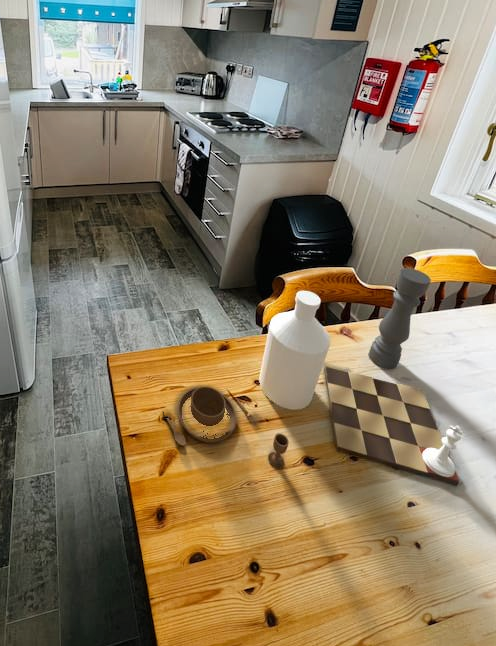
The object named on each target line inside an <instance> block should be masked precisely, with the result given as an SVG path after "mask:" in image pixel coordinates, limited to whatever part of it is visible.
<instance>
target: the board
mask: <svg viewBox="0 0 496 646" xmlns="http://www.w3.org/2000/svg"><path fill="white" fill-rule="evenodd" d="M323 372H324V380H325V385H326V390H327V391H326V392H327V399H328V405H329V411H330V418H331V424H332V430H333V437H334V444H335V451H336V452H339V453H342V454H346V455H350V456H353V457H357V458H361V459H363V460H367V461H370V462H374V463H377V464H380V465H384V466H386V467H387V466H388V467H391V468H394V469H397V470H400V471H403V472H408V473H411V474H414V475H417V476H420V477H425V478H428V479H432V480H434V481H437V482H441V483H444V484H448V485H451V486H455V487H458V486H459V485H460V480H459V479H460V478H459V477H458V475H457V472H456V471H455V473H454V475H453V476H451V477H444V476H441V475H439V474H437V473H435V472H434V471H433V470H431V469H430V468H429V467H428V466H427V464H426V463H425V461H424V460H423V456H422V454H423V452H424V451H425V449H427V448H435V449H438V450H439V449H440V448H441V447H442V446H443V445H444V444H443V443H442V438H443V436H442V434H441V432H440V430H439V428H438V425H437V424H436V421H435V419H434V416H433V414H432V412H431V408H430V405H429V403H428V400H427V398H426V395H425V393H424V390H423V388H422V389H421V388H418V387H414V386H409V385H405V384H401V383H394V382H390V381H386V380H382V379H377V378H374V377H372V376H369V375H364V374H360V373H357V372H352V371H345V370H341V369H337V368H333V367H330V366H324V369H323ZM448 457H449V458H450V459H451V457H450V454H449V455H448Z"/></svg>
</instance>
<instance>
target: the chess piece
mask: <svg viewBox="0 0 496 646" xmlns="http://www.w3.org/2000/svg"><path fill="white" fill-rule="evenodd" d="M460 428H461V427H460V425H456V426H453V425H450V426H449V428H448V429H447V430H446V436H443V437H442V443H443V444H444V445H443V446H442V447H441V448H440V449H439V450H438V449H435V448H427V449H425V451H424V452H423V454H422V456H423V460H424V461H425V463H426V464H427V466H428V467H429V468H430V469H431V470H433V471H434V472H435V473H437V474H439V475H441V476H444V477H451V476H453V475H454V473H455V472H456V465H455V463H454V461H453V459H451V457H450V452H451V450H454V451H455V450H456V449H457V442H459V441H460V440H461V439H462V435H463V433H464V432H463V431H462V430H461V429H460ZM448 455H449V457H450V458H449V457H448Z"/></svg>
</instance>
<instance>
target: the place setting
mask: <svg viewBox="0 0 496 646" xmlns="http://www.w3.org/2000/svg"><path fill="white" fill-rule="evenodd" d="M190 397H191V406H190V407H191V412H192V415H193V417H194V418H195V419H196V420H197V421H198V422H199V423H201V424H203V425H206V426H213V425H216V424H218V423H219V422H220V421H221V420H222V419H223V417H224V413H225V408H226V410H227V412H228V413H229V414H228V413H227V414H226V415H228V416H230V419H231V420H230V422H231V423H230V424H231V425H230V428H229V431H228V432H226V433H225V435H223V434H222V435H223V436H221V437H219V438H215V437H214V439H208V438H207V437H206V438H204V436H203V437H201V436H198V435H196V434H194V433H193V432H192V431H190V430H189V429H188V428H187V427H186V425H185V424H184V422H183V419H182V407H183V404H184V403H185V401H186V400H187V399H188V398H190ZM237 400H238V401H236V403H237V402H238V403H239V404H238V403H237V404H238V406H240V407H241V409H242V410H243V411H244V413H245V414H246V413H247V414H248V413H249V411H248V410H247V409H246V408H245V406H244V405H243V404H242V403H241V401H240V400H239V399H238V398H237ZM177 416H178V419H179V422H180V424H181V426H182V428H183V429H184V431H186V433H188V434H189V435H190V436H191V437H193V438H194V439H196V440H199V441H201V442H204V443H210V444H212V443H219V442H222V441H224V440H226V439H228V438H229V437H230V436H231V435H232V434H233V433H234V430H235V428H236V425H237V419H238V417H237V412H236V409H235V407H234V405H233V403H232V401H231V400H230V399H229V398H228V397H227V395H225V394H224V393H222V392H221V391H219V390H217V389H215V388H214V387H211V386H195V387H192V388H190V389H188V390H186V391H185V392H184V393H183V394H182V395H181V396H180V398H179V400H178V403H177ZM228 416H227V417H228ZM228 418H229V417H228ZM166 419H167V420H166ZM165 420H166V421H167V423H168V424H169V425H170V427H171V429H172V431H173V437H174V440H175V442H176V444H178V445H179V446H181V447H185V446H186V445H187V441H186V440H187V439H186V438H185V436H184V435H183V434H182V433H181V432H180V431H178V430H177V429H176V427H175V426H174V424H173V422H172V421H171V419H170V417H169V416H168V418H165ZM248 420H249V422H251V423H252V424H253V425H254V426H256V425H257V424H258V423H259V420H258V419H256V417H255V416H253V415H252V416H251V417H250V418H249V419H248ZM203 432H204V431H203ZM207 434H208V433H207ZM215 435H216V434H215ZM205 436H206V435H205ZM213 436H214V435H213ZM289 443H290V442H289V439H288V437H287V436H286V435H285V434H283V433H276V434H275V435H274V437H273V443H272V447H273V449H274V451H272V452H270V453H268V457H267V460H268V462H269V464H270V465H271V466H272V467H274V466H275V467H276V469H282V468H283V467H284V465H285V460H284V457H283V456H282V455H283V454H285V453H286V452H287V450H288V446H289ZM275 467H274V468H275Z"/></svg>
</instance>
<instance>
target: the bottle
mask: <svg viewBox="0 0 496 646" xmlns="http://www.w3.org/2000/svg"><path fill="white" fill-rule="evenodd" d="M294 301H295V305H294V309H293V310H290V311H283V312H279V313H277V314H275V315H274V316H272V318H271V320H270V322H269V327H268V330H267V337H266V342H265V346H264V352H263V356H262V362H261V368H260V371H259V378H258V384H259V383H260V384H259V387H260V389H262V390H261V391H262V393H263V392H264V393H265V394H266V395H265V394H264V393H263V394H264V395H265V397H266V396H267V397H268V398H269V399H268V398H267V397H266V398H267V399H268V400H270V399H271V400H272V401H273V402H274V404H275V403H276V404H275V405H277V406H278V405H279V406H278V407H281V408H283V409H286V408H287V410H292V411H294V410H295V411H296V410H297V411H299V410H302V409H305V408H306V406H307V407H308V406H309V405H310V404H311V402H312V399H313V397H314V393H315V390H316V388H317V386H318V382H319V379H320V376H321V373H322V370H323V367H324V363H325V361H326V358H327V355H328V352H329V350H330V347H331V337H330V334H329V332H328V330H327V329H326V328H325V327H324V326H323V325H322V324H321V323H320V321H319V320H318V319H317V318H316V313H317V310H319V308H320V306H321V302H322V300H321V298H320V297H319V295H318V294H316V293H315V292H313V291H311V290H310V291H309V290H299V291H297V292H296V295H295V299H294ZM271 400H270V401H271ZM272 401H271V402H272ZM273 402H272V403H273Z"/></svg>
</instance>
